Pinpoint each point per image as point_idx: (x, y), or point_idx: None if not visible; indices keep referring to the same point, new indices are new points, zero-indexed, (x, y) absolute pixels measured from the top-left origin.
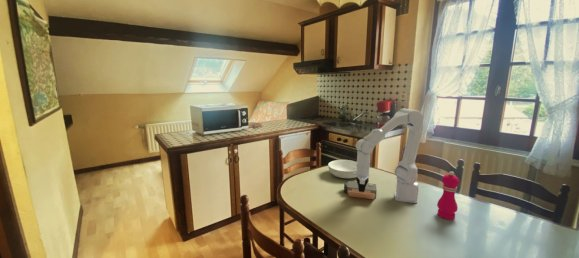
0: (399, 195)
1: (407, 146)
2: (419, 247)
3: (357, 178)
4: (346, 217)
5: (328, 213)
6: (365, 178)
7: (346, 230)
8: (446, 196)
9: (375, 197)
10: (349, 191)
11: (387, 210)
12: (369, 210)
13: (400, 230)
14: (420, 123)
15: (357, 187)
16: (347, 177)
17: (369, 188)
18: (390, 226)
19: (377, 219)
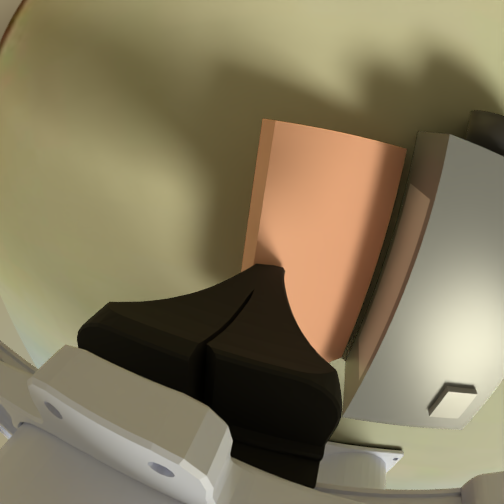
0: (325, 472)
1: None
2: (30, 342)
3: (146, 369)
4: (67, 115)
5: (91, 8)
6: (3, 433)
7: (4, 128)
8: None
9: (346, 368)
10: (264, 135)
11: None
12: (169, 273)
13: (67, 339)
14: None
15: (435, 273)
16: None
17: (393, 382)
18: (72, 318)
19: (95, 286)
